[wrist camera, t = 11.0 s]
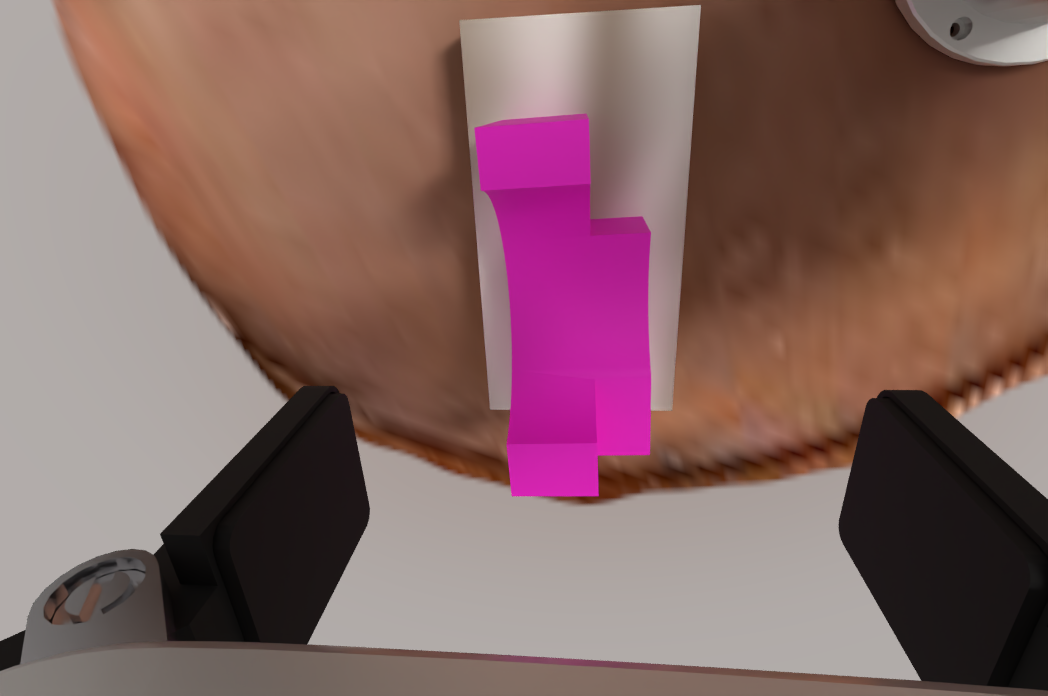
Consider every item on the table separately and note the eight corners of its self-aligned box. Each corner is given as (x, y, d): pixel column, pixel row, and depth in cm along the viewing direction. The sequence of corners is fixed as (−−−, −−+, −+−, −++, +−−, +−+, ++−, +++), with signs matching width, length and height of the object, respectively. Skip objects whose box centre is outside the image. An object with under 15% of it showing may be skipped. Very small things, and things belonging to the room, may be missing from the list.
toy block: (640, 407, 31) (658, 496, 24) (526, 409, 31) (511, 496, 24) (643, 108, 25) (668, 112, 18) (502, 119, 25) (474, 127, 18)
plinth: (687, 15, 26) (700, 5, 23) (664, 384, 33) (672, 410, 30) (471, 28, 26) (459, 20, 24) (497, 384, 34) (490, 409, 31)
